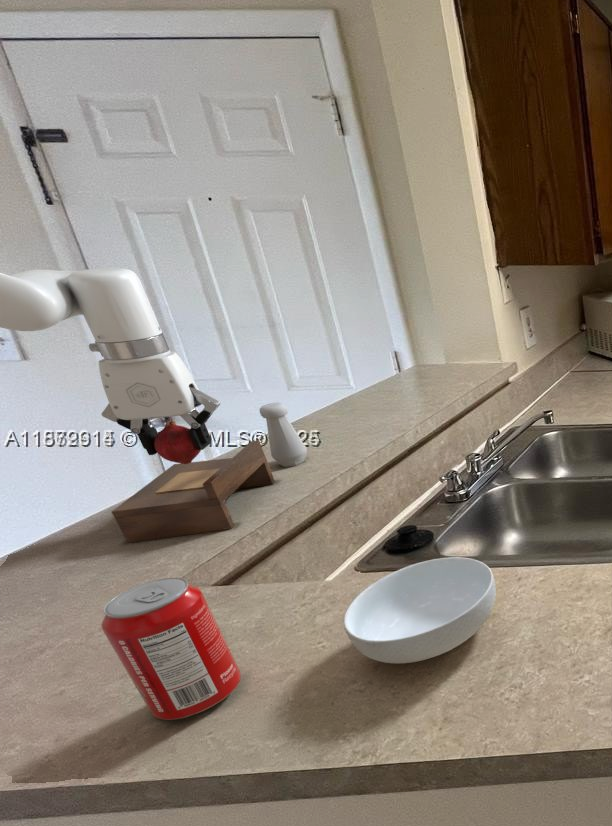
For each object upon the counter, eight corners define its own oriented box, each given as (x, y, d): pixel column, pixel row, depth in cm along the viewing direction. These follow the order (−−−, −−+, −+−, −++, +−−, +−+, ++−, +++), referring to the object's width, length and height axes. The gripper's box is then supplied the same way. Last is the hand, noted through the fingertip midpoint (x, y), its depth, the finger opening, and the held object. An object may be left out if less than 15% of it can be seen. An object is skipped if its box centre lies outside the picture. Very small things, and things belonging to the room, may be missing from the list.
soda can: (192, 730, 68) (133, 624, 62) (135, 719, 69) (71, 614, 63) (261, 677, 75) (214, 577, 69) (207, 668, 76) (157, 569, 70)
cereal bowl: (450, 583, 92) (439, 544, 89) (530, 617, 85) (521, 575, 82) (329, 657, 78) (312, 613, 75) (413, 704, 71) (398, 658, 68)
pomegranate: (206, 465, 106) (188, 423, 103) (161, 474, 103) (140, 430, 100) (211, 453, 110) (194, 412, 107) (168, 461, 107) (149, 419, 104)
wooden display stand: (127, 543, 101) (102, 495, 97) (186, 492, 116) (167, 449, 112) (231, 528, 105) (211, 482, 101) (275, 481, 120) (259, 440, 117)
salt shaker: (290, 455, 131) (269, 399, 125) (317, 456, 131) (297, 399, 125) (268, 468, 125) (245, 409, 120) (295, 468, 125) (273, 410, 120)
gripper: (47, 359, 92) (102, 465, 100) (189, 350, 97) (231, 451, 105) (81, 346, 99) (131, 447, 106) (212, 338, 104) (251, 435, 111)
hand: (180, 448), depth 105 cm, fingers closed on pomegranate, 5 cm apart
